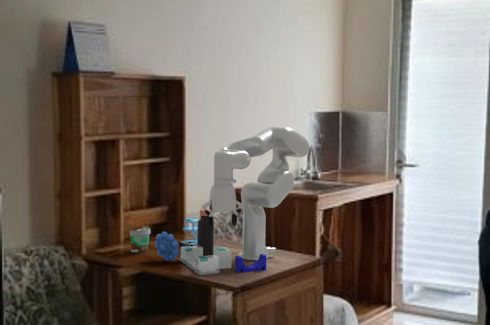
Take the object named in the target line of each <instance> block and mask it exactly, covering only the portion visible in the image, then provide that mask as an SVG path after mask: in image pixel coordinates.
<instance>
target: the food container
mask: <svg viewBox="0 0 490 325" xmlns="http://www.w3.org/2000/svg"><path fill="white" fill-rule="evenodd" d="M141 227H142V228H137V229H135V230H130V231H129V237H130V251H131V252H130V253H131V254H145V252H146V253H148V251H149V242H150V235H151V234H152V232H151V228H150V227H149V226H145V225H142V226H141Z"/></svg>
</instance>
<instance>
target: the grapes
mask: <svg viewBox="0 0 490 325" xmlns="http://www.w3.org/2000/svg"><path fill="white" fill-rule="evenodd" d="M155 238H156V240H155V241H154V243H153V245H154V247H155V248H156V254H157V256H160V257H161V258H162V259H163V261H165V262H168V261H169V260H170V261H171V262H174V261H176V257H178V256H179V255H180V251H179V250H178V248H179V243H178V241H176V240H175V236H174V235H173V234H171V233H169V234H168V232H166V231H161V233H157V234H156V236H155Z"/></svg>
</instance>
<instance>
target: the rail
mask: <svg viewBox="0 0 490 325" xmlns="http://www.w3.org/2000/svg"><path fill="white" fill-rule="evenodd" d="M179 261H180V262H181V261H182V262H183V264H184V265H185V264H186V265H185V266H186V267H188V268H189V267H190V270H192V271H193V270H194V272H195V273H196V274H198V275H199V276H204V275H205V276H206V275H216V274H220V270H221V269H219V257H217V256H216V255H211V256H203V247H201V246H197V245H194V246H190V245H186V246H181V247H180V257H179ZM182 262H181V263H182Z"/></svg>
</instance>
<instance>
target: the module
mask: <svg viewBox="0 0 490 325" xmlns="http://www.w3.org/2000/svg"><path fill="white" fill-rule="evenodd" d="M232 252H233V250H232V249H230V248H228V247H226V246H215V247H213V255H216V256H217V257H219V269H220V270H224V269H232V257H233V256H232Z"/></svg>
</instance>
